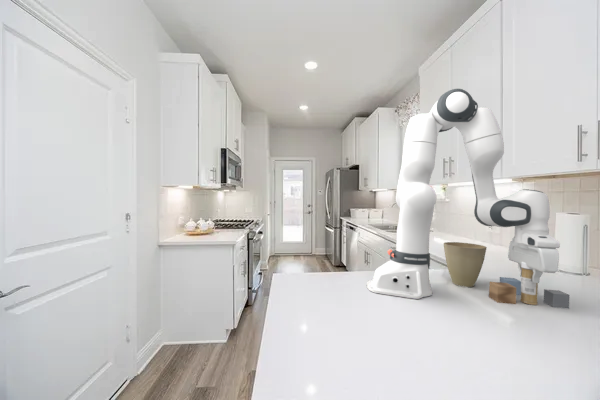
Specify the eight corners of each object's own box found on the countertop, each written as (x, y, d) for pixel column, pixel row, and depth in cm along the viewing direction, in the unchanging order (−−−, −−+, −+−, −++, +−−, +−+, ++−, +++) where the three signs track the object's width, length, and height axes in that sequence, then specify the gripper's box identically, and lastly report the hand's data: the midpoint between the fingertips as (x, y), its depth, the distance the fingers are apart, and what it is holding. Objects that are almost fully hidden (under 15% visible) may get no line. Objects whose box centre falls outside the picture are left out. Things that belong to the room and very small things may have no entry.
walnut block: (497, 302, 93) (497, 286, 93) (489, 297, 99) (489, 281, 99) (515, 304, 92) (516, 287, 92) (506, 298, 98) (507, 282, 98)
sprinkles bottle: (539, 303, 94) (541, 263, 94) (534, 306, 91) (536, 264, 91) (523, 299, 97) (524, 260, 97) (517, 301, 95) (519, 261, 95)
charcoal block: (553, 307, 91) (553, 293, 91) (543, 302, 96) (544, 289, 96) (569, 308, 90) (569, 294, 90) (558, 303, 95) (559, 290, 95)
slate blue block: (506, 294, 103) (506, 280, 103) (499, 290, 108) (499, 277, 108) (521, 295, 102) (522, 281, 102) (513, 291, 107) (514, 278, 107)
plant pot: (437, 278, 122) (438, 241, 122) (474, 280, 120) (476, 243, 120) (449, 288, 107) (451, 246, 107) (492, 292, 105) (494, 249, 105)
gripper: (503, 234, 105) (502, 271, 105) (540, 242, 85) (538, 288, 85) (522, 235, 104) (521, 273, 104) (564, 243, 84) (562, 290, 84)
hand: (529, 280), depth 94 cm, fingers closed on sprinkles bottle, 4 cm apart
